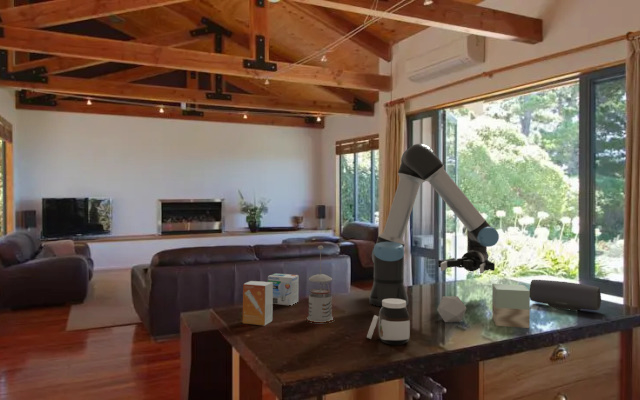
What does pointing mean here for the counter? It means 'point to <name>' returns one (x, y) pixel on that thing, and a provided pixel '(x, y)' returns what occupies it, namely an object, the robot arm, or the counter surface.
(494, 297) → the tower top
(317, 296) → the french press
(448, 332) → the counter surface
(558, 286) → the bluetooth speaker
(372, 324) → the spread jar
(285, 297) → the light bulb box
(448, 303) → the die
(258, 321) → the small box
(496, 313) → the tower base
